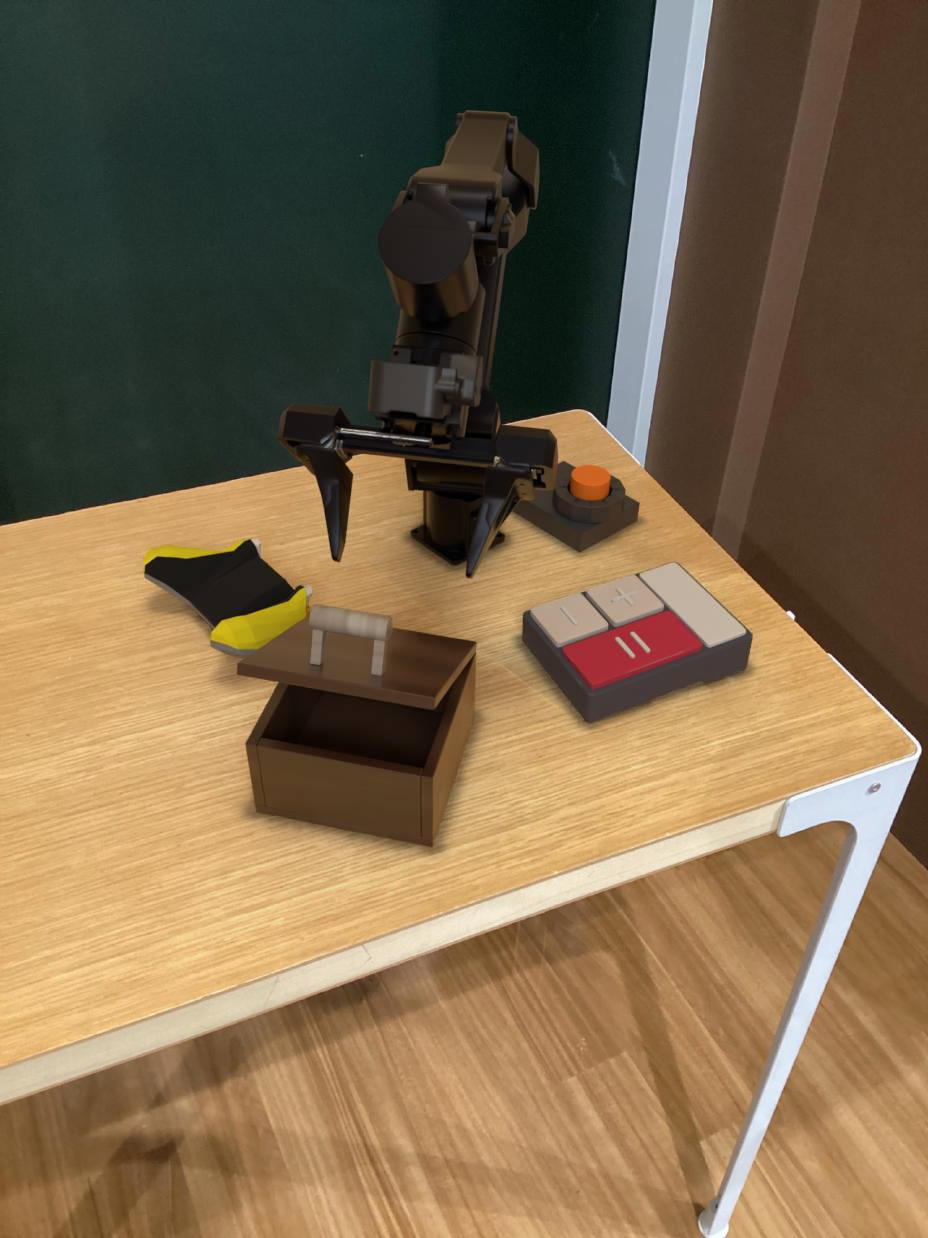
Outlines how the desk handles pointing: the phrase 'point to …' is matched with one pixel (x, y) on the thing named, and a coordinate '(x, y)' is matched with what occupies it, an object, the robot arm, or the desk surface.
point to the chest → (360, 759)
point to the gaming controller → (230, 592)
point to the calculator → (635, 640)
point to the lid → (361, 658)
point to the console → (579, 512)
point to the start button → (590, 482)
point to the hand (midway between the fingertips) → (401, 569)
